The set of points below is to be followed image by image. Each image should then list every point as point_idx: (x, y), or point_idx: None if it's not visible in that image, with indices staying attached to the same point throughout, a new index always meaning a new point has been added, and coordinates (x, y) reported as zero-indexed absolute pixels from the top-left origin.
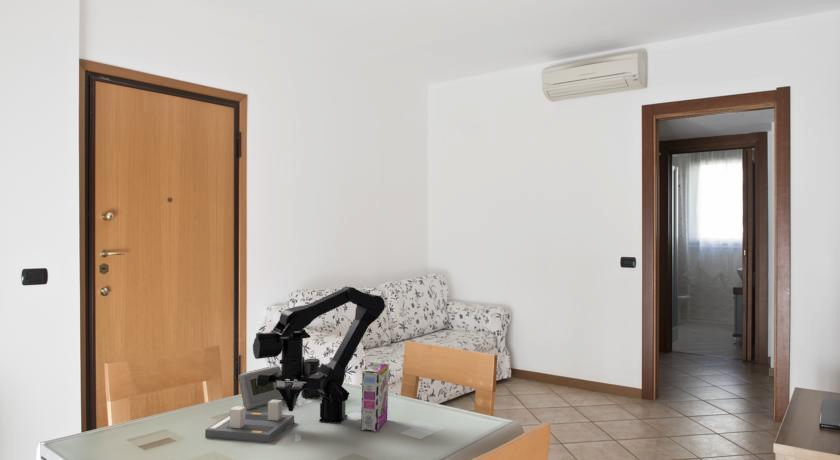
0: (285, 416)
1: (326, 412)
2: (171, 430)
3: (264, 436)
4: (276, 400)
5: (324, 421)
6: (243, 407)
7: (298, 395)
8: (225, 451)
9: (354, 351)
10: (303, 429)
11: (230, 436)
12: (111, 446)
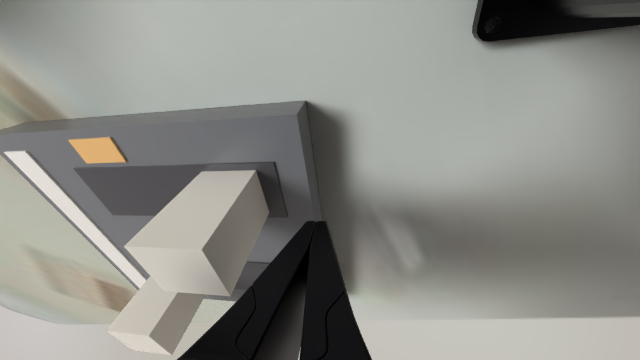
0: (260, 148)
1: (598, 7)
2: (47, 252)
3: None
4: (170, 259)
5: (521, 37)
6: (148, 339)
7: (359, 336)
8: None
9: None
10: (399, 178)
11: None
12: (81, 311)
